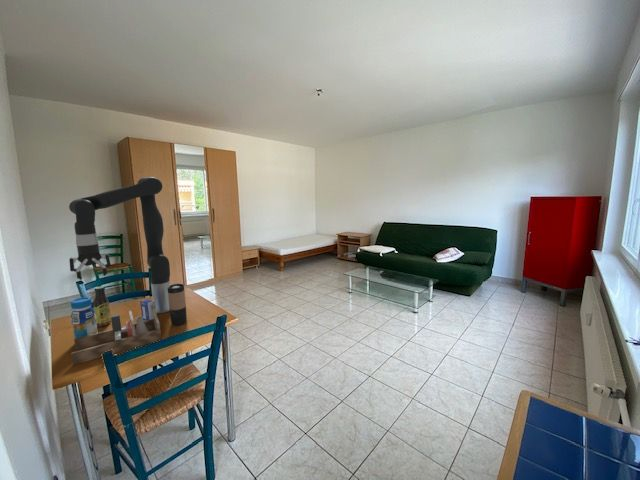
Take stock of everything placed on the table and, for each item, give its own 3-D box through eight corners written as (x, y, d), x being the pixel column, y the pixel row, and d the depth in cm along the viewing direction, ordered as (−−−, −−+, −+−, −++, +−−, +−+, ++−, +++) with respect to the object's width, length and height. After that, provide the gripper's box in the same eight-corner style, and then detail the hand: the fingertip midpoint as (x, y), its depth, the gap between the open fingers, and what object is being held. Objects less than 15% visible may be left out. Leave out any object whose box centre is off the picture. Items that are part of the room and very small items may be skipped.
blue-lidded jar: (73, 341, 123) (66, 300, 119) (97, 333, 129) (91, 294, 125) (76, 348, 117) (69, 305, 114) (101, 340, 123) (94, 299, 120)
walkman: (142, 321, 141) (139, 300, 139) (147, 319, 143) (145, 298, 141) (152, 324, 138) (149, 302, 136) (157, 322, 140) (155, 300, 138)
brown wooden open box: (157, 327, 135) (154, 305, 133) (161, 339, 124) (158, 315, 122) (76, 349, 116) (71, 323, 114) (73, 365, 106) (68, 337, 103)
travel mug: (189, 322, 141) (186, 286, 137) (174, 327, 135) (170, 290, 131) (184, 317, 146) (180, 282, 142) (168, 322, 140) (165, 286, 137)
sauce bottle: (102, 327, 135) (97, 290, 131) (92, 326, 136) (86, 289, 132) (115, 321, 141) (109, 285, 137) (105, 320, 142) (99, 285, 139)
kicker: (132, 333, 129) (129, 306, 126) (135, 345, 118) (131, 317, 116) (114, 338, 124) (110, 310, 122) (115, 351, 114) (111, 322, 111)
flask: (135, 334, 128) (132, 315, 126) (152, 332, 130) (150, 313, 129) (130, 342, 121) (127, 322, 120) (149, 339, 124) (146, 319, 122)
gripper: (107, 240, 129) (111, 272, 132) (67, 244, 121) (73, 278, 124) (107, 242, 124) (112, 276, 126) (65, 246, 115) (71, 282, 118)
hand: (92, 277), depth 125 cm, fingers open, 8 cm apart
